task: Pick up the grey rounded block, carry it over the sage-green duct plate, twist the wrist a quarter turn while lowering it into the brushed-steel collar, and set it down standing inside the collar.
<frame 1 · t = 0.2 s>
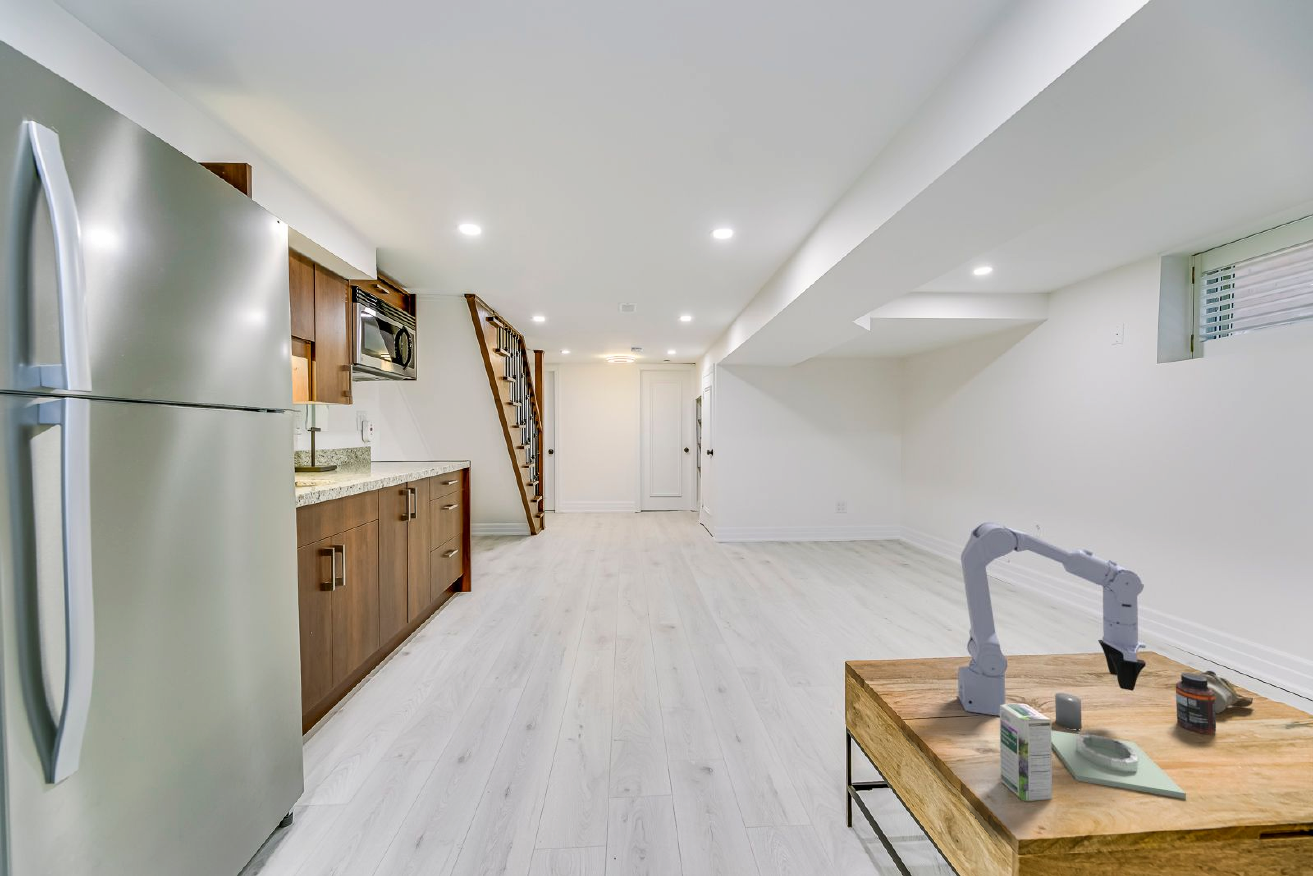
hand: (1121, 681, 112), 10 cm above the table, fingers open, 7 cm apart
duct collar: (1106, 752, 99), on the duct plate, point 1 cm above the table
ceramic sculpture: (1212, 707, 120), on the table
duct plate: (1106, 763, 99), on the table
syrup box: (1025, 791, 92), on the table
grey rounded block: (1068, 724, 113), on the table
supplement bottle: (1196, 728, 111), on the table
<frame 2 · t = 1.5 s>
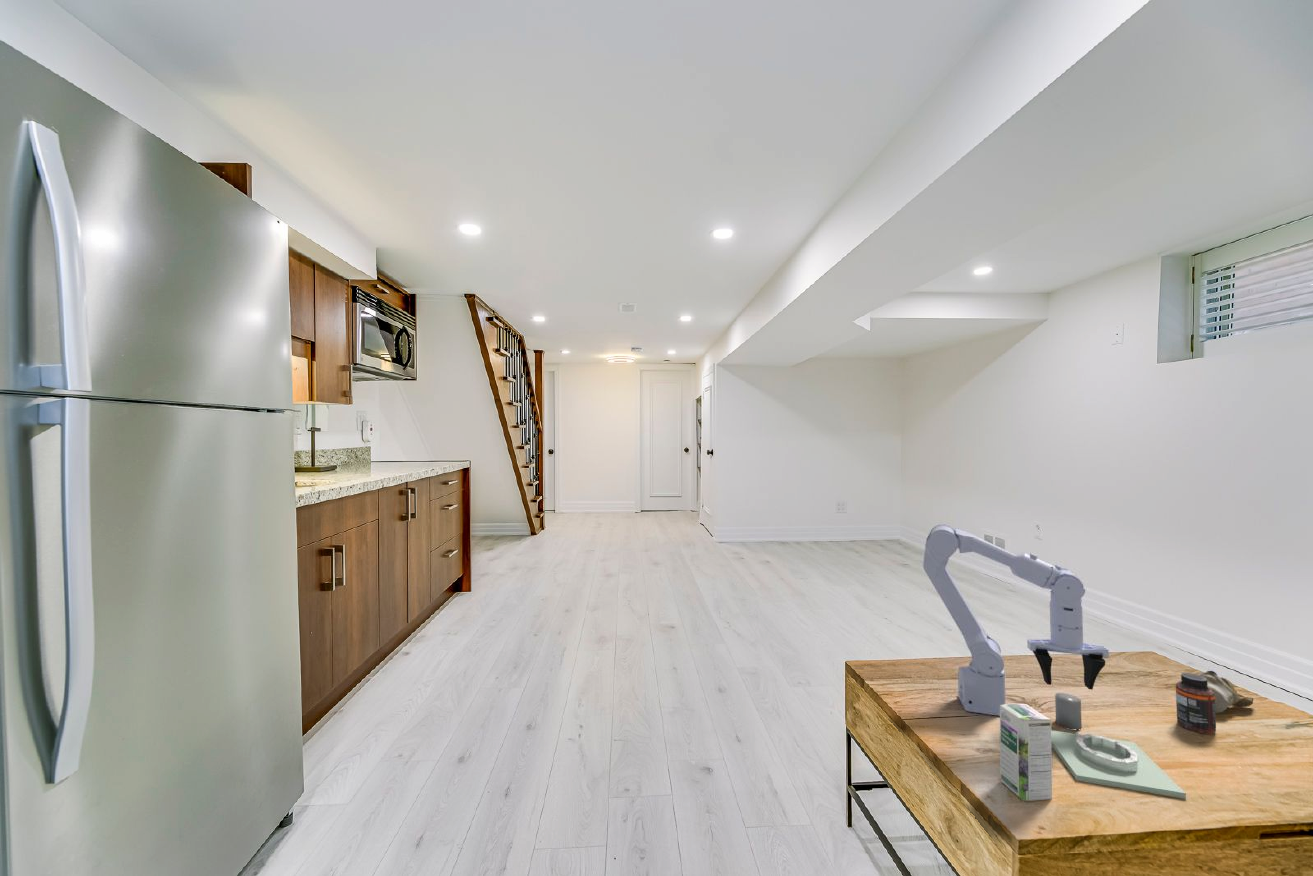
hand: (1067, 685, 113), 9 cm above the table, fingers open, 7 cm apart
nothing on the table moved.
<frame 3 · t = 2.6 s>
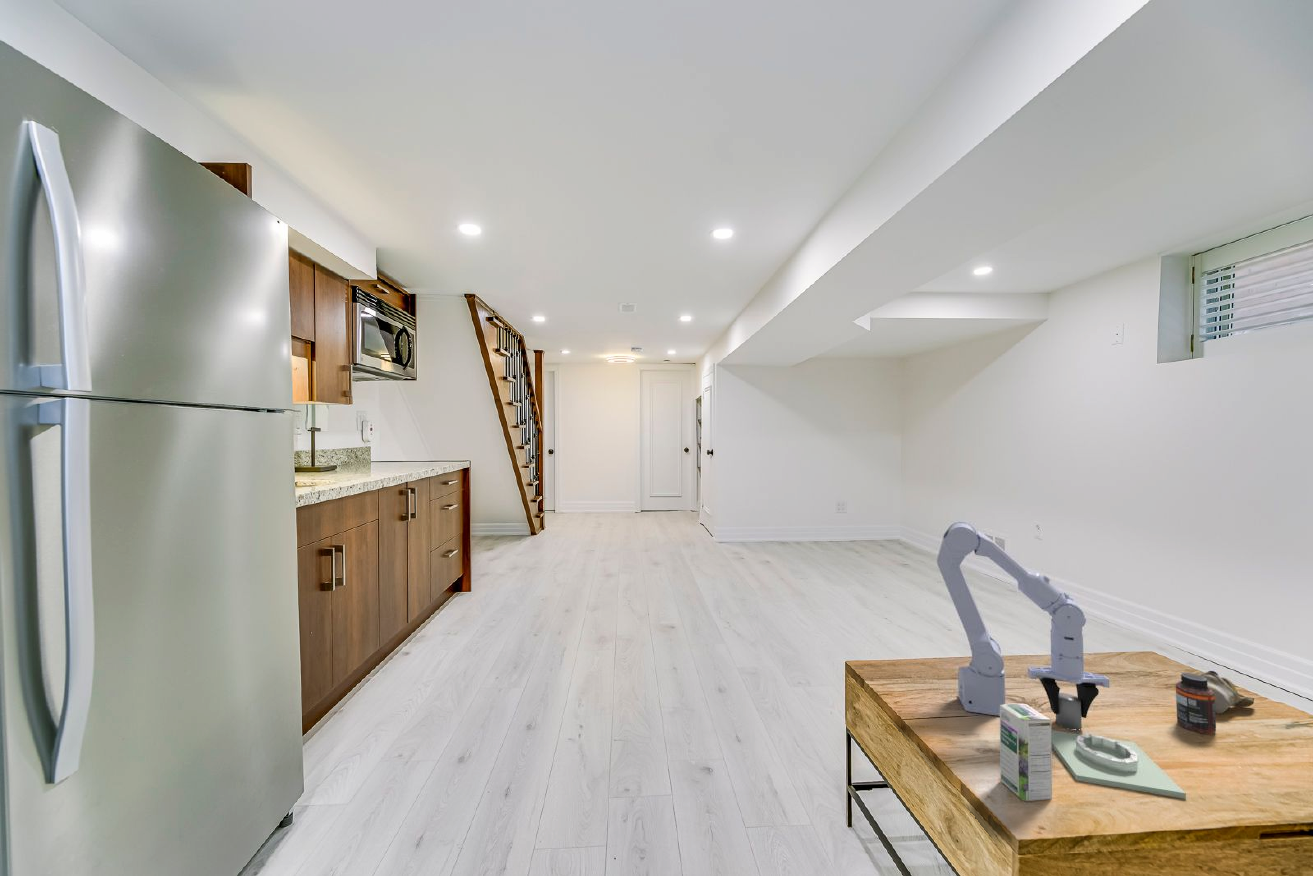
hand: (1068, 713, 113), 2 cm above the table, fingers closed on grey rounded block, 4 cm apart
grey rounded block: (1068, 724, 113), on the table, touching gripper
everything else where it was.
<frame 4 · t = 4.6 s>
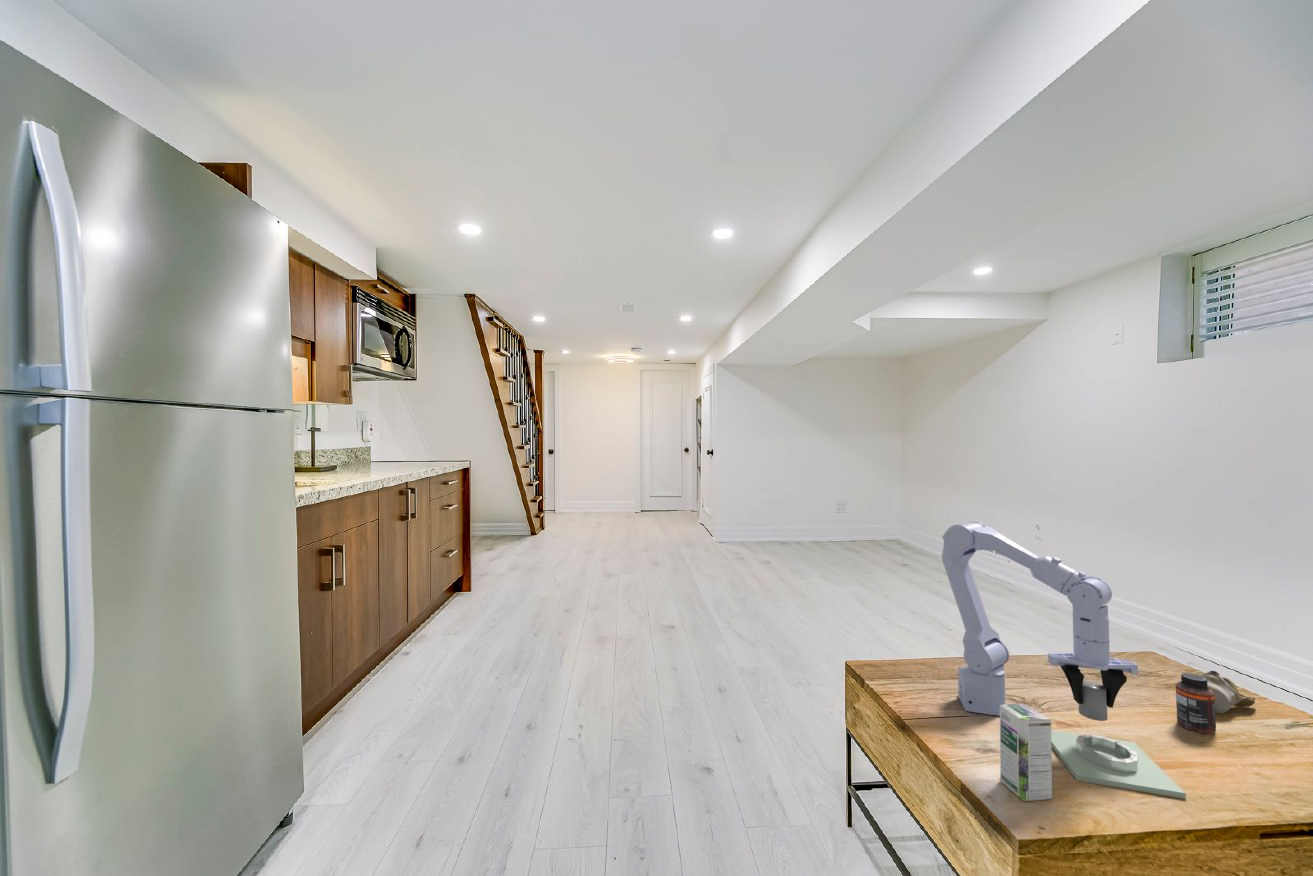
hand: (1092, 703, 104), 10 cm above the table, fingers closed on grey rounded block, 4 cm apart
grey rounded block: (1092, 715, 104), point 7 cm above the table, touching gripper
everything else where it was.
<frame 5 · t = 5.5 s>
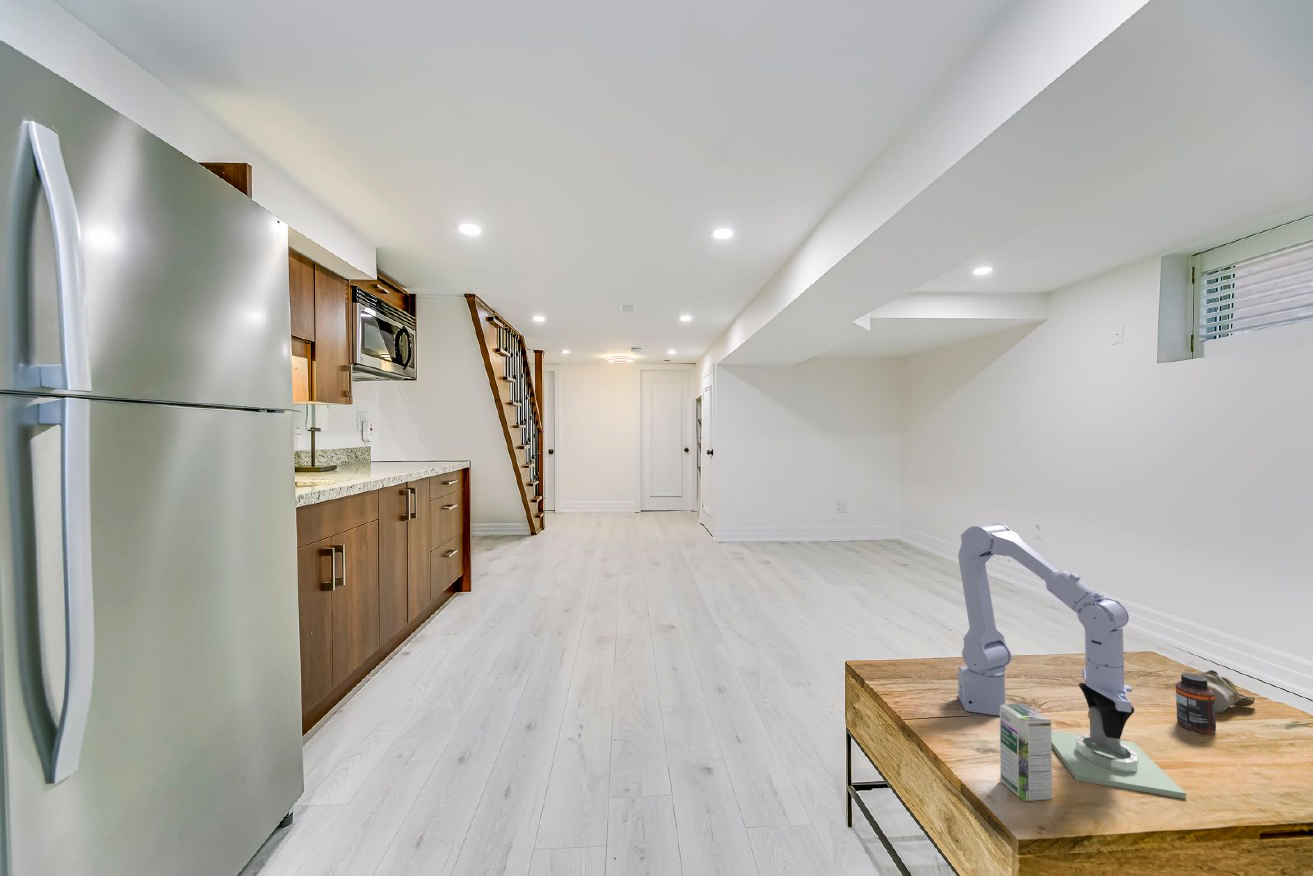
hand: (1106, 730, 99), 6 cm above the table, fingers closed on grey rounded block, 4 cm apart
grey rounded block: (1105, 742, 99), point 4 cm above the table, touching gripper
everything else where it was.
when the fingers open (4 cm above the table, at t = 6.4 s): grey rounded block stays where it is, resting on duct plate.
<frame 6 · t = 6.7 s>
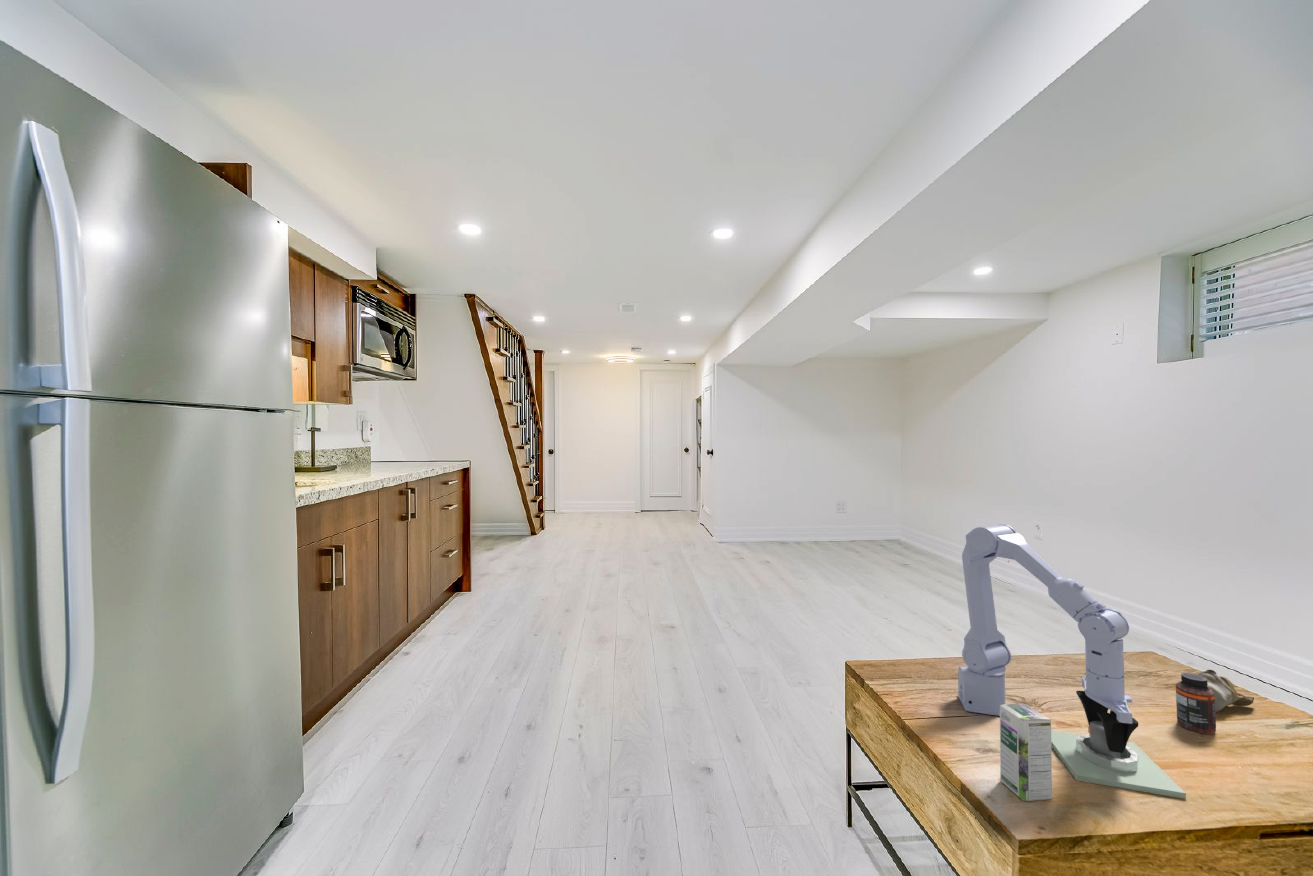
hand: (1106, 740, 99), 4 cm above the table, fingers open, 7 cm apart
grey rounded block: (1105, 757, 99), point 1 cm above the table, touching duct plate
everything else where it was.
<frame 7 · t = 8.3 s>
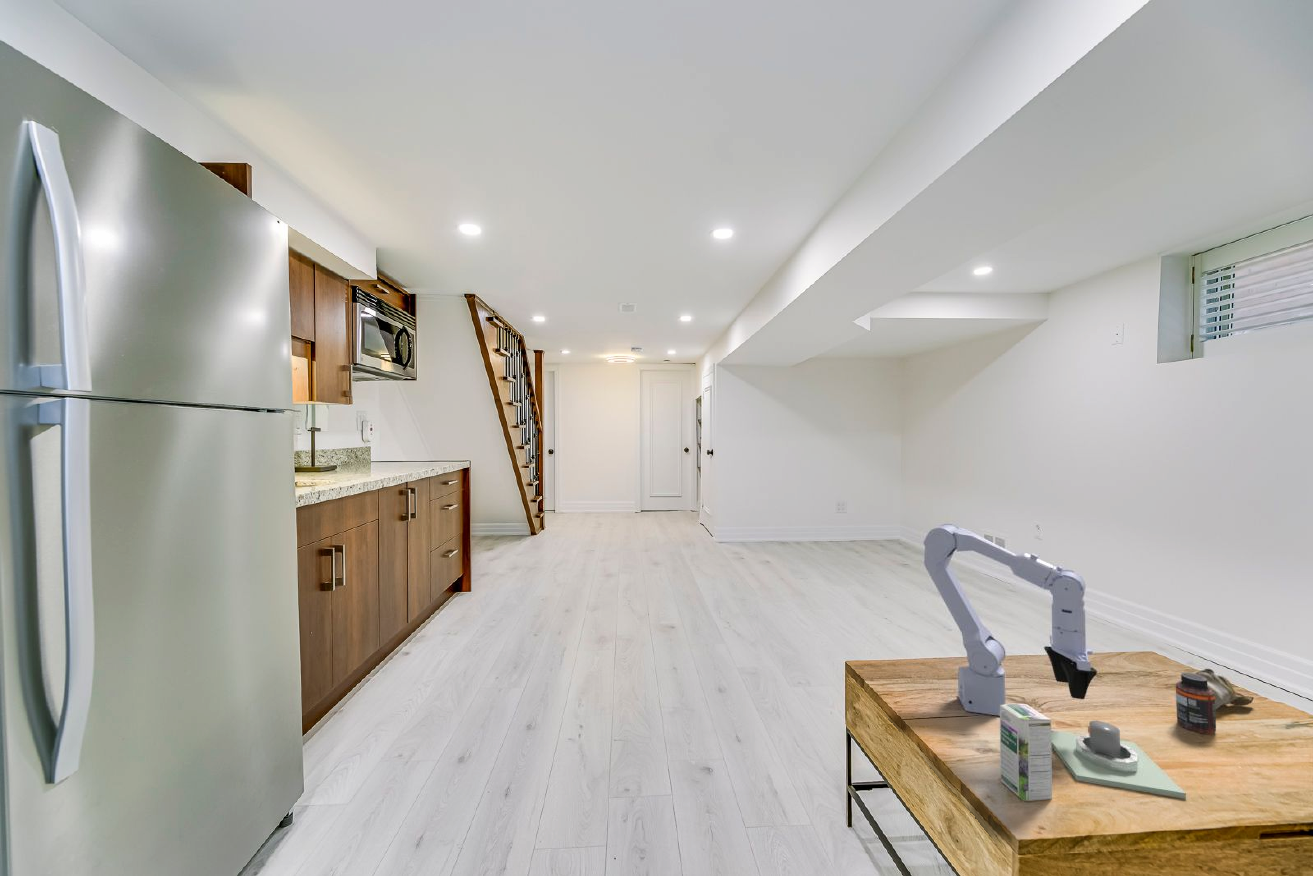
hand: (1069, 689, 110), 9 cm above the table, fingers open, 7 cm apart
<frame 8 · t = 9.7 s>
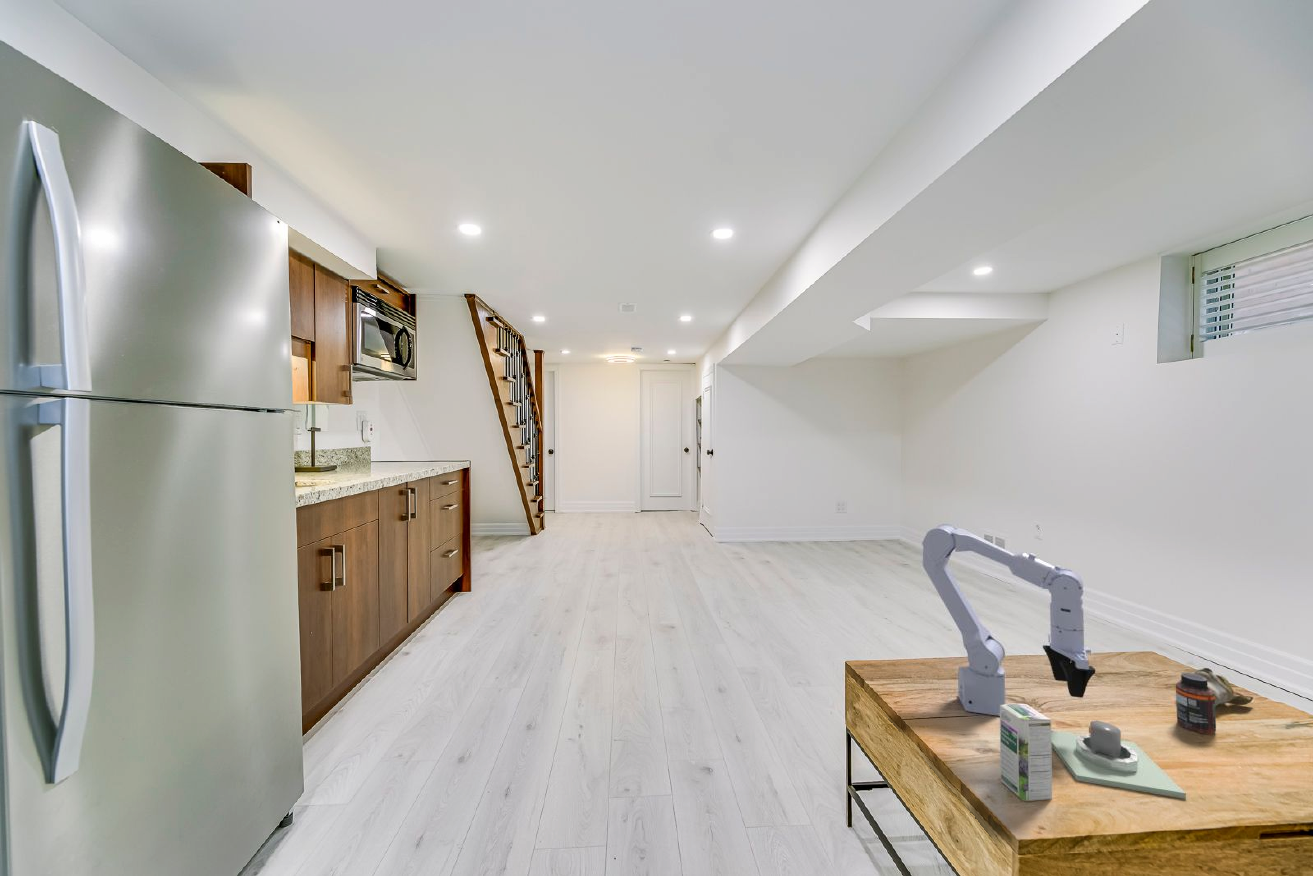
hand: (1068, 688, 110), 9 cm above the table, fingers open, 7 cm apart
at the end: grey rounded block 0.2 cm off-centre on the duct collar, point 1.0 cm above the duct collar's base; grey rounded block tilted 1°; the gripper is holding nothing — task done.
